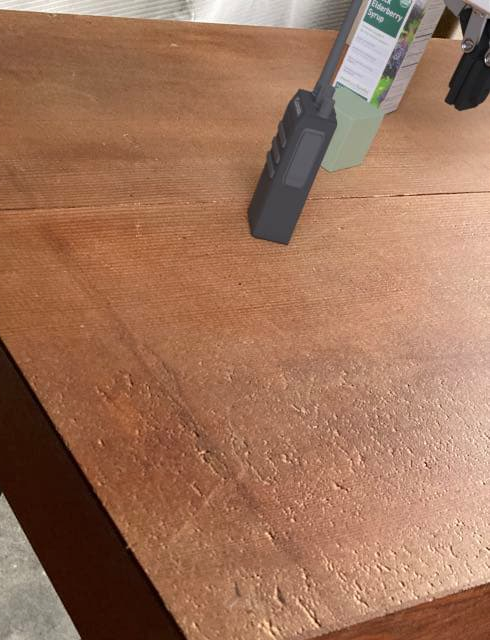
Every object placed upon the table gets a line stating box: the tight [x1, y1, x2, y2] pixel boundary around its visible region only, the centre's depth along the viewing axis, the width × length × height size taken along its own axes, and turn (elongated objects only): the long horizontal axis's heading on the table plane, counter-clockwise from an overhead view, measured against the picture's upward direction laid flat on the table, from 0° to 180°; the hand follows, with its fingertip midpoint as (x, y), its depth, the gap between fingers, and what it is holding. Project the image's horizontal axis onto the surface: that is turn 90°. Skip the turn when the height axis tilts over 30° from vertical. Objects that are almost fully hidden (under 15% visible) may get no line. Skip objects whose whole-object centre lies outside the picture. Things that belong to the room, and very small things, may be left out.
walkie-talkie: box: [247, 0, 363, 246], centre depth 72 cm, size 5×3×20 cm
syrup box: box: [331, 0, 447, 115], centre depth 97 cm, size 6×6×14 cm
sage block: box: [320, 87, 386, 173], centre depth 90 cm, size 5×5×5 cm
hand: (460, 104), depth 83 cm, fingers closed
